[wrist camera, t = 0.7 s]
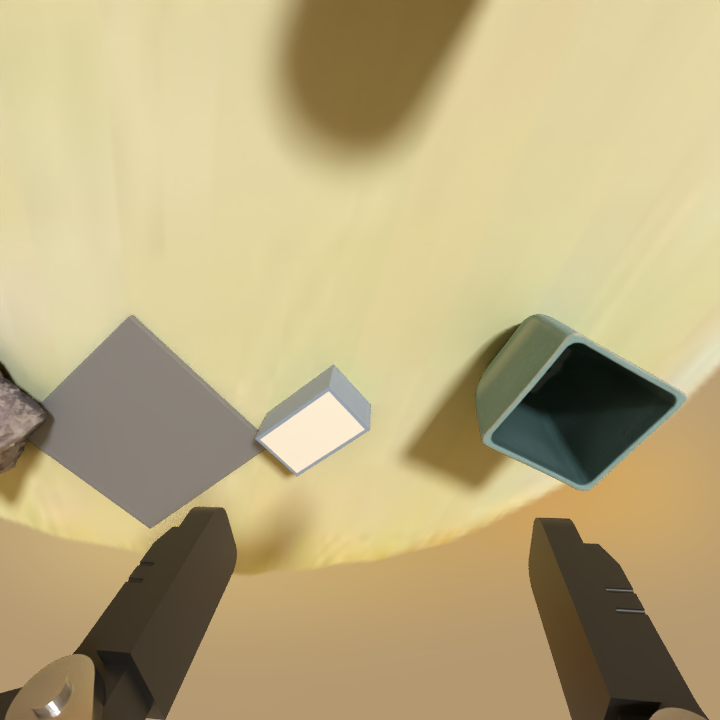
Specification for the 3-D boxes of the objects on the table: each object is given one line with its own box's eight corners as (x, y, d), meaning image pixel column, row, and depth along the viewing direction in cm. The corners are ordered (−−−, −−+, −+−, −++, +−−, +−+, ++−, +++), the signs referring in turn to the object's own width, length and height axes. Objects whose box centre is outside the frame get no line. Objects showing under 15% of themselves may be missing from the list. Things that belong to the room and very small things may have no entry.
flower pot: (537, 420, 34) (587, 496, 26) (453, 377, 32) (478, 443, 24) (609, 339, 30) (693, 398, 22) (518, 287, 29) (573, 330, 21)
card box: (267, 411, 35) (255, 439, 31) (334, 363, 33) (328, 386, 29) (304, 446, 37) (296, 476, 33) (370, 403, 34) (369, 430, 31)
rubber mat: (19, 426, 37) (13, 430, 36) (132, 314, 31) (128, 317, 31) (152, 524, 42) (149, 528, 41) (270, 442, 36) (268, 446, 36)
